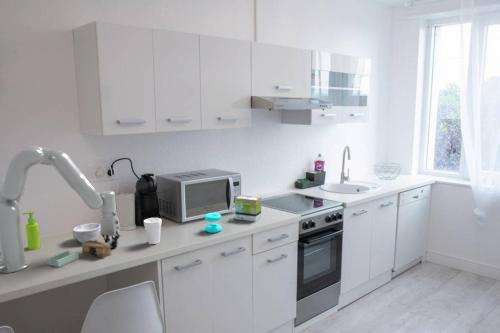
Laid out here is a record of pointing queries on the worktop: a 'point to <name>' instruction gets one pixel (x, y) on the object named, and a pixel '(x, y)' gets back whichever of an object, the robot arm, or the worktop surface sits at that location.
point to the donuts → (213, 218)
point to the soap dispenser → (32, 232)
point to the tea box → (248, 208)
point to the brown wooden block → (101, 248)
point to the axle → (105, 242)
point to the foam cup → (153, 230)
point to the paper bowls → (87, 232)
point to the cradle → (62, 259)
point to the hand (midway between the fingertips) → (111, 246)
